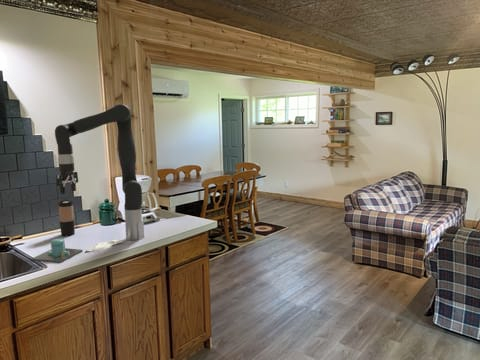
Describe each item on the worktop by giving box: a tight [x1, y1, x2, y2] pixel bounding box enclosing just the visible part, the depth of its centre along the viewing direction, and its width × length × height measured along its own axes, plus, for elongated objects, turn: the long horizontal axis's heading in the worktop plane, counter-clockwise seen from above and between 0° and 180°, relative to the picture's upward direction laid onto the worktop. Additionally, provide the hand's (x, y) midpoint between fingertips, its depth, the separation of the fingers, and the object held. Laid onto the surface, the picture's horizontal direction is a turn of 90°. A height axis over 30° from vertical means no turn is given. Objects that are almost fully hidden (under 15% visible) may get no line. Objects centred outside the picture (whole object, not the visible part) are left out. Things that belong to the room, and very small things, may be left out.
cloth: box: [83, 238, 127, 254], centre depth 193 cm, size 26×14×2 cm, turn 134°
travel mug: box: [58, 199, 76, 237], centre depth 212 cm, size 8×8×20 cm
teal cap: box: [48, 238, 69, 256], centre depth 177 cm, size 10×6×7 cm, turn 91°
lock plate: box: [31, 247, 84, 264], centre depth 178 cm, size 16×16×6 cm
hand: (68, 192), depth 195 cm, fingers open, 8 cm apart
